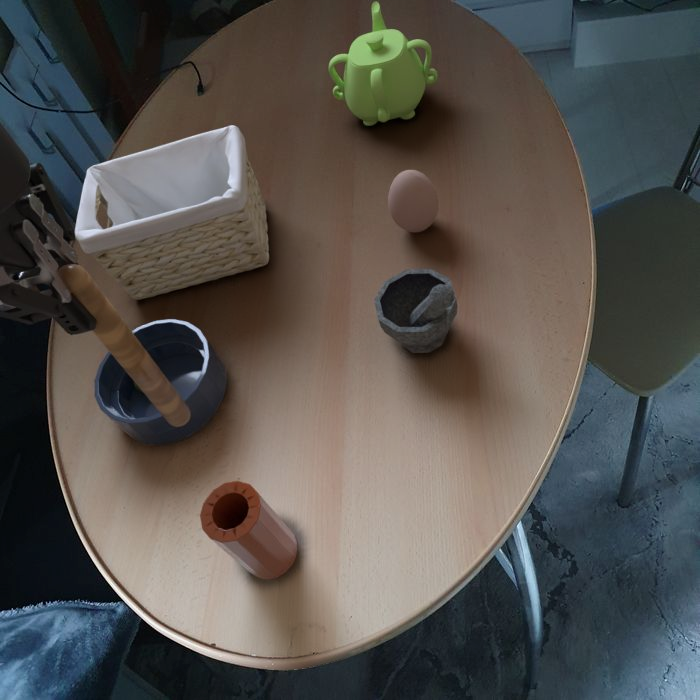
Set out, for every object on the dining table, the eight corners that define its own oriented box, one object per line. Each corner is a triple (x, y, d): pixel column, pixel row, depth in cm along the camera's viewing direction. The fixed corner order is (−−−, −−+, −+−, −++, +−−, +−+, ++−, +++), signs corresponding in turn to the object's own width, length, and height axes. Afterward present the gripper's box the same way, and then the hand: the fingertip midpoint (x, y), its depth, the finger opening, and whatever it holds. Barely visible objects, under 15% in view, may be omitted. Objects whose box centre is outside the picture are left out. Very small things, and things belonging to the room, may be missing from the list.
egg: (407, 205, 99) (395, 152, 91) (450, 214, 96) (441, 160, 88) (386, 238, 96) (372, 187, 88) (429, 248, 93) (419, 196, 85)
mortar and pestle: (370, 339, 87) (348, 278, 77) (418, 292, 89) (403, 228, 80) (435, 384, 80) (421, 325, 71) (486, 332, 83) (478, 268, 73)
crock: (284, 587, 71) (243, 550, 61) (235, 569, 73) (189, 531, 64) (306, 533, 74) (270, 490, 64) (258, 518, 76) (217, 474, 66)
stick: (186, 433, 66) (66, 284, 48) (166, 427, 66) (41, 278, 49) (198, 412, 67) (85, 260, 49) (178, 407, 68) (60, 254, 50)
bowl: (194, 459, 82) (171, 435, 77) (99, 432, 88) (71, 407, 83) (247, 358, 89) (229, 329, 84) (156, 338, 95) (134, 311, 90)
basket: (124, 310, 100) (68, 241, 88) (133, 234, 110) (83, 163, 98) (278, 271, 97) (241, 195, 86) (273, 196, 107) (239, 119, 95)
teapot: (326, 109, 117) (305, 42, 107) (389, 66, 120) (375, -3, 110) (382, 146, 108) (365, 76, 98) (449, 99, 110) (439, 27, 100)
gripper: (-100, 85, 44) (55, 262, 57) (-171, 234, 35) (30, 399, 49) (5, 51, 43) (137, 240, 57) (-42, 196, 34) (125, 375, 48)
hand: (86, 313), depth 53 cm, fingers closed on stick, 2 cm apart
